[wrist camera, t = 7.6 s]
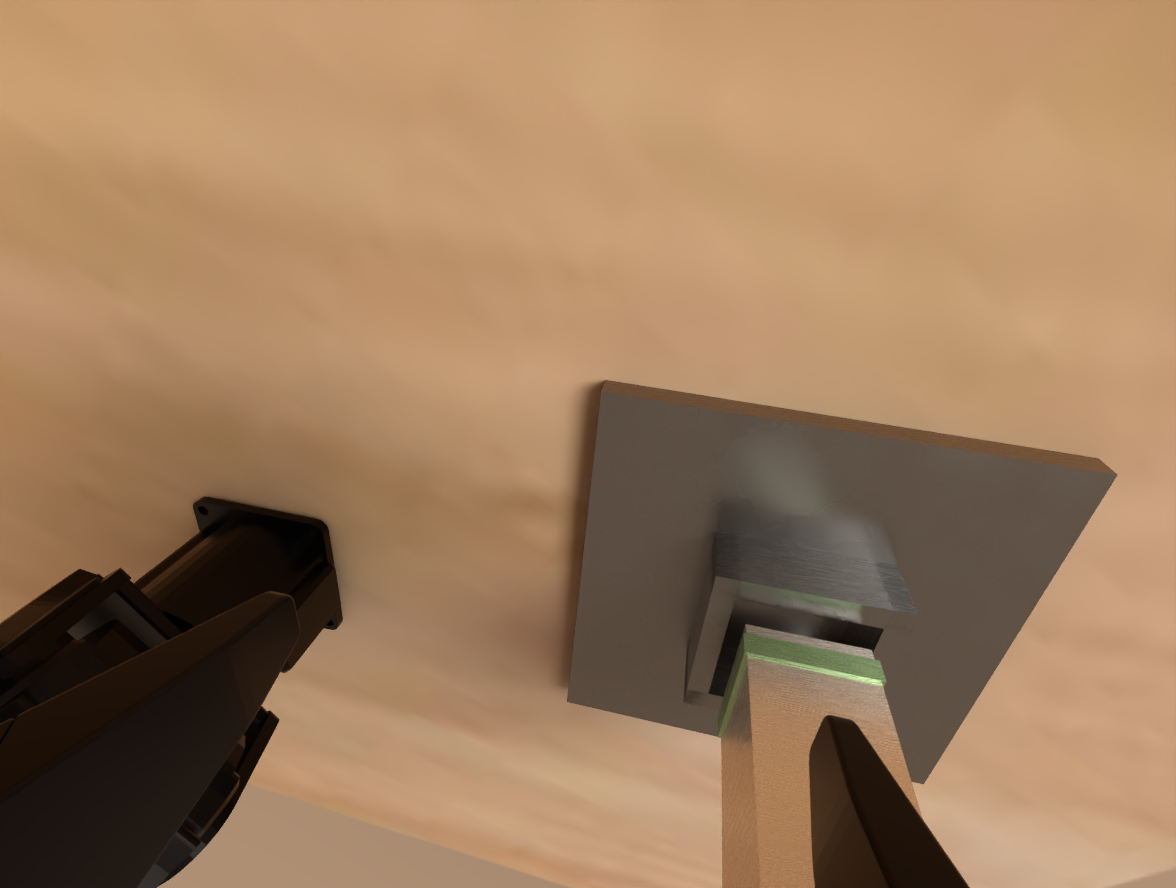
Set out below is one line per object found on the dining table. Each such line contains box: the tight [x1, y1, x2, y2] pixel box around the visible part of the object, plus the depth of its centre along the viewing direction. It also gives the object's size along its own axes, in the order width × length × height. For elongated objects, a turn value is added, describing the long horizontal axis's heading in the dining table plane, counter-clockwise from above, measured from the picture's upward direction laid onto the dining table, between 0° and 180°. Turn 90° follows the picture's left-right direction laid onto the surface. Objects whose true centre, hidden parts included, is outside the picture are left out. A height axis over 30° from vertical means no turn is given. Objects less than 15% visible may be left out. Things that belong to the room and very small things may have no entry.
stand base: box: [567, 380, 1117, 784], centre depth 22 cm, size 16×16×4 cm
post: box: [718, 624, 922, 888], centre depth 16 cm, size 4×4×9 cm
